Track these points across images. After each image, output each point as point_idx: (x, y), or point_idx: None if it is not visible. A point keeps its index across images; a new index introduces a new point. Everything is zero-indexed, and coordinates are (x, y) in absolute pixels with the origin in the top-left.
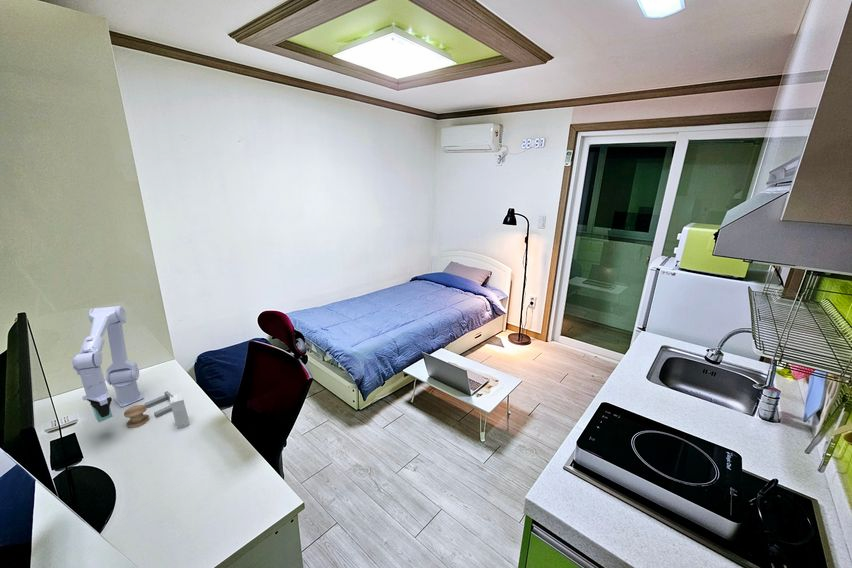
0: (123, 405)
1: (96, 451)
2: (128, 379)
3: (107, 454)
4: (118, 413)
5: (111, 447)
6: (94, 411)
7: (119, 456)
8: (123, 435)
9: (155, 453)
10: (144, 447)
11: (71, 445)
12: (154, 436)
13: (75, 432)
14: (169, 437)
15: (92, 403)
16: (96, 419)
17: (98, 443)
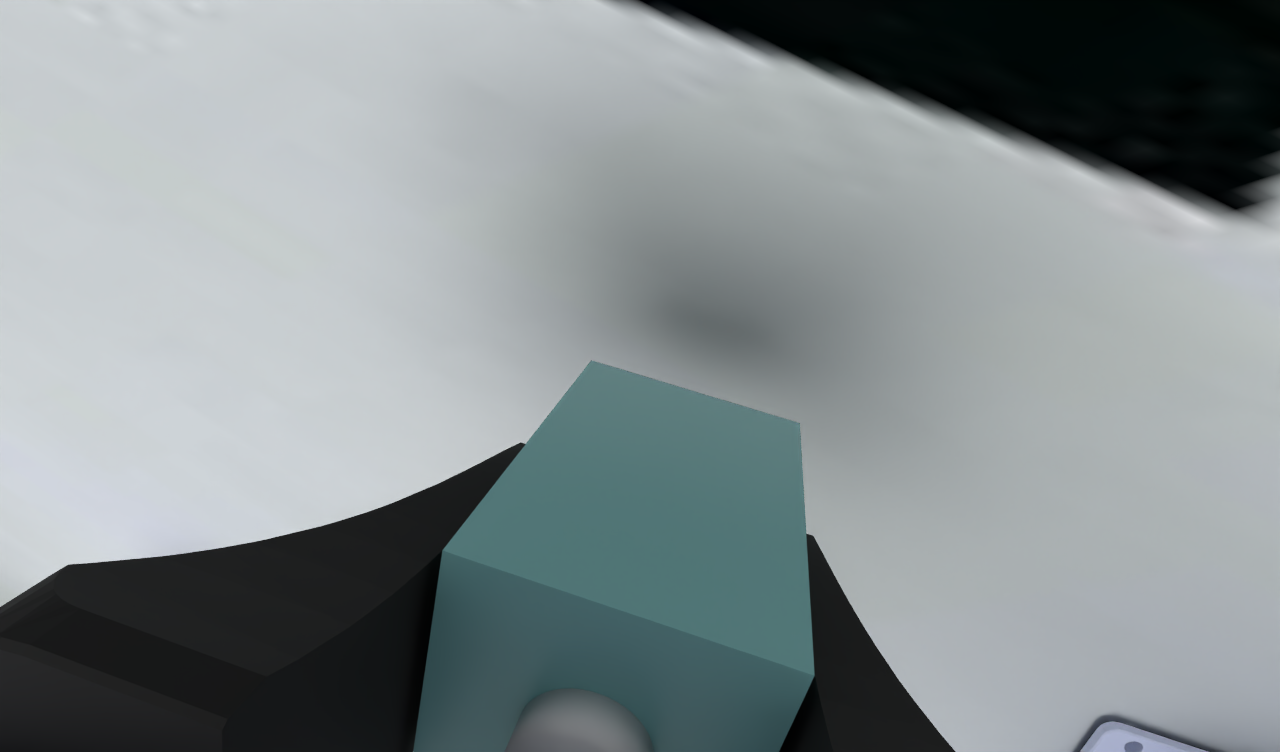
0: (1106, 747)
1: (513, 104)
2: None
3: (349, 128)
4: (1027, 633)
5: (437, 217)
6: (627, 504)
7: (215, 161)
8: (536, 389)
9: (16, 316)
10: (169, 336)
11: (971, 27)
12: (259, 467)
13: (1245, 222)
14: (144, 492)
15: (142, 747)
16: (731, 403)
17: (650, 203)
